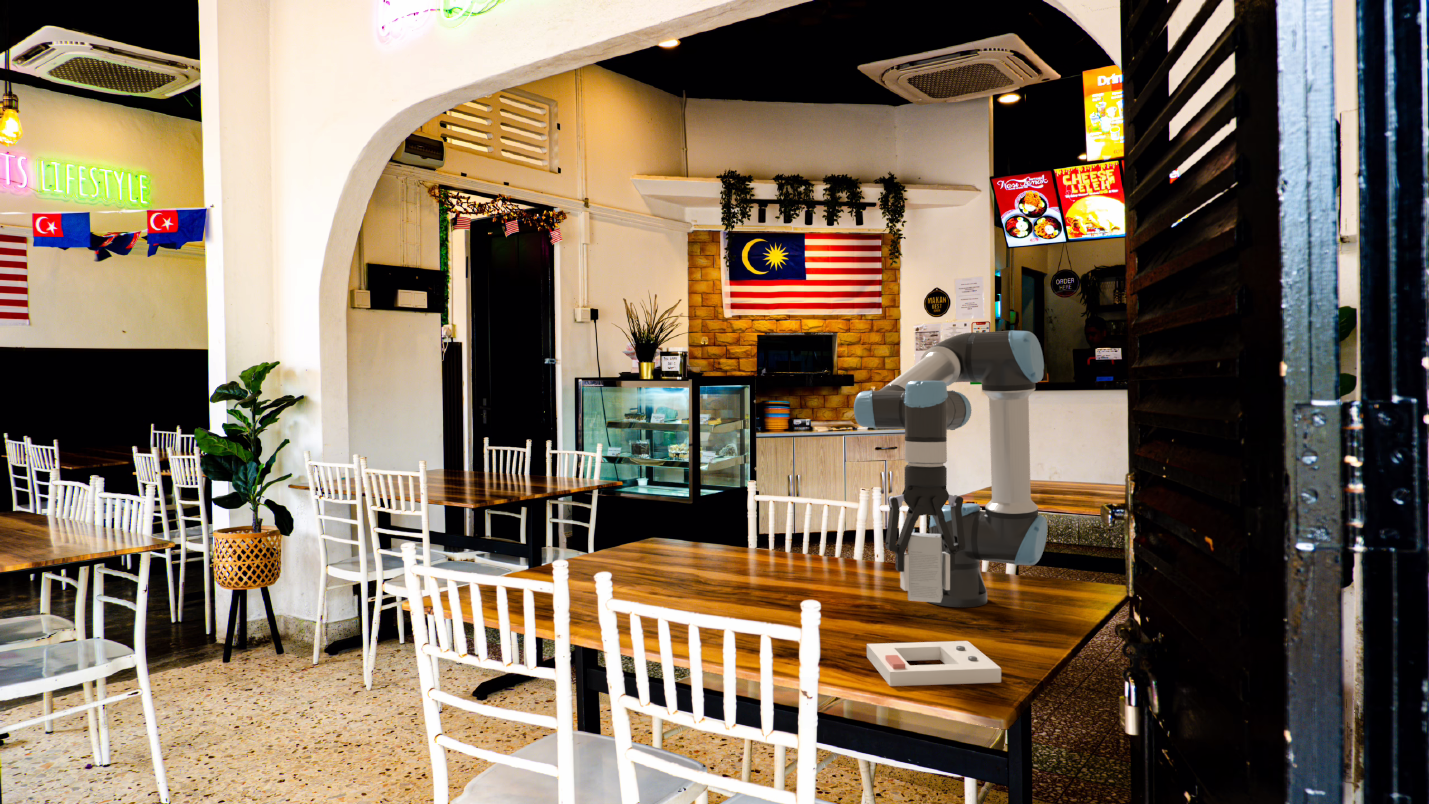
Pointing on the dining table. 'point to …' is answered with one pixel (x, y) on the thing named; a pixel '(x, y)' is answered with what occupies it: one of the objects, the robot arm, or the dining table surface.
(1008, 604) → the dining table surface
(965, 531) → the robot arm
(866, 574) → the dining table surface
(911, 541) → the skincare box
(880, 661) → the socket plate
